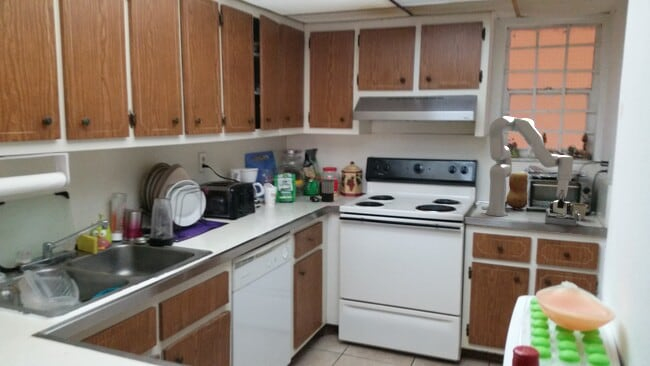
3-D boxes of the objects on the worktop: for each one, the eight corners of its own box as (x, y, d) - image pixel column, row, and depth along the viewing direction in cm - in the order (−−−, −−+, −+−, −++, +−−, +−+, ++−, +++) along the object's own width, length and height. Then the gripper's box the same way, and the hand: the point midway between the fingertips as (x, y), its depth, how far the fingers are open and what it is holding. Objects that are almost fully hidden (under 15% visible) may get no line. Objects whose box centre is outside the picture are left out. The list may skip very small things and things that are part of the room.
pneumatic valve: (569, 222, 289) (570, 201, 287) (548, 219, 298) (550, 199, 296) (573, 221, 293) (574, 200, 291) (553, 218, 301) (554, 197, 300)
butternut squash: (501, 207, 342) (503, 170, 339) (518, 207, 346) (520, 170, 343) (515, 211, 329) (518, 172, 326) (532, 210, 333) (535, 172, 330)
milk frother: (336, 201, 359) (337, 180, 357) (322, 203, 347) (322, 182, 345) (321, 199, 368) (321, 178, 366) (306, 201, 355) (307, 180, 354)
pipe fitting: (545, 222, 295) (545, 210, 294) (546, 219, 303) (547, 208, 302) (579, 226, 286) (580, 213, 285) (580, 223, 295) (581, 211, 294)
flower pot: (589, 220, 303) (590, 206, 302) (572, 219, 305) (573, 205, 304) (584, 217, 312) (585, 203, 311) (567, 216, 314) (568, 202, 313)
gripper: (558, 175, 301) (555, 203, 304) (555, 178, 286) (552, 208, 289) (572, 176, 298) (569, 205, 300) (570, 179, 283) (567, 210, 285)
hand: (560, 206), depth 294 cm, fingers open, 9 cm apart
